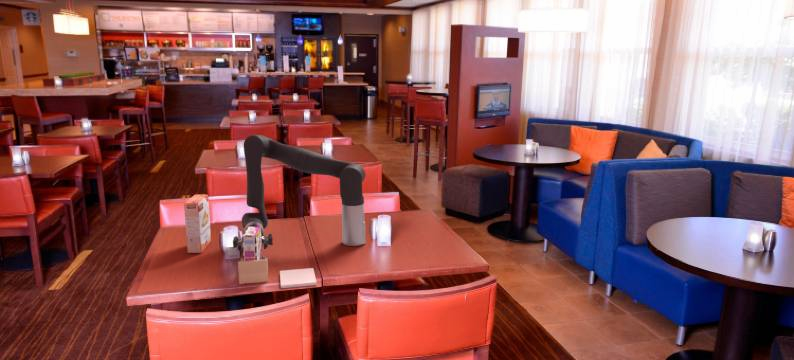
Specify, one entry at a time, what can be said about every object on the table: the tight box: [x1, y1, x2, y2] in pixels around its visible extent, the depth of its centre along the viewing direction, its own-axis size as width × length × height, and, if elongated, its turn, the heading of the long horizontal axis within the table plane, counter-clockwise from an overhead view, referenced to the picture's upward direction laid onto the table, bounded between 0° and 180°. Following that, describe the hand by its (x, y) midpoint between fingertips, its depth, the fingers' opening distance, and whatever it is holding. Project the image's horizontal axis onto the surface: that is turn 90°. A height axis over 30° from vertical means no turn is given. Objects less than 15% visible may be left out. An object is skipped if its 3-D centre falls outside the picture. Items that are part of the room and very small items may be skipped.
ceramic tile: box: [279, 267, 318, 289], centre depth 188 cm, size 12×13×1 cm
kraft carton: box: [237, 255, 269, 285], centre depth 193 cm, size 10×19×8 cm, turn 14°
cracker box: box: [183, 194, 212, 254], centre depth 216 cm, size 14×6×21 cm, turn 3°
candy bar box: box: [241, 227, 263, 261], centre depth 190 cm, size 11×5×16 cm, turn 5°
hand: (252, 247), depth 193 cm, fingers open, 8 cm apart
